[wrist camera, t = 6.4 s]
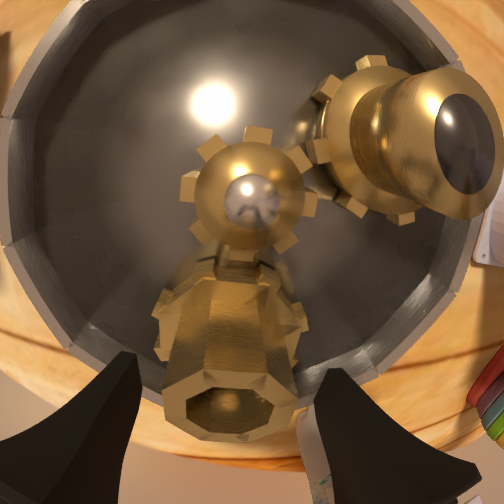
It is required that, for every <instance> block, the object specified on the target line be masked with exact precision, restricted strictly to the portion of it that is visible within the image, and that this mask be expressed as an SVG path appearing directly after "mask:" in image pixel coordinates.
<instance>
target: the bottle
mask: <svg viewBox="0 0 504 504" xmlns="http://www.w3.org/2000/svg"><path fill="white" fill-rule="evenodd" d="M296 436H297V442H298V447H299V451H300V454H301V457H302V461H303V464H304V467H305V470H306V473H307V477H308V480H309V484H310V490H311V494H312V499H313V504H335V502H334V492H333V484H332V478H331V472H330V468H329V464H328V460H327V457H326V453H325V450H324V447H323V443H322V440H321V436H320V433H319V429H318V426H317V422H316V416H315V409H314V404H312V405H309V406H308V411H306V410H305V411H303V412H301V413H300V414H299V416H298V418H297V422H296Z"/></svg>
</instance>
